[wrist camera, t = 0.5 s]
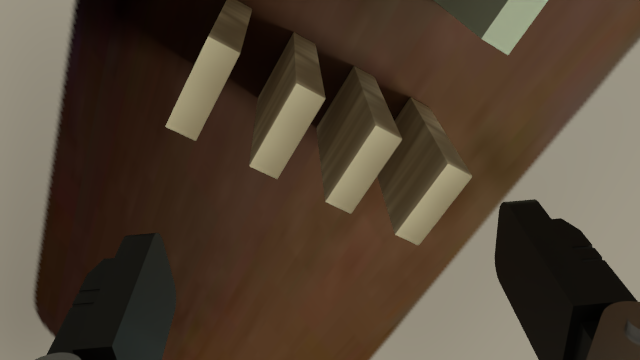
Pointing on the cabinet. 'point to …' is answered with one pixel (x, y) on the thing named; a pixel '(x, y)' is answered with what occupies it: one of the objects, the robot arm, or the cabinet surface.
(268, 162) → the domino
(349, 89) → the domino
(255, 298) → the cabinet surface
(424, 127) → the domino
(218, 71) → the domino
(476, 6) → the domino
